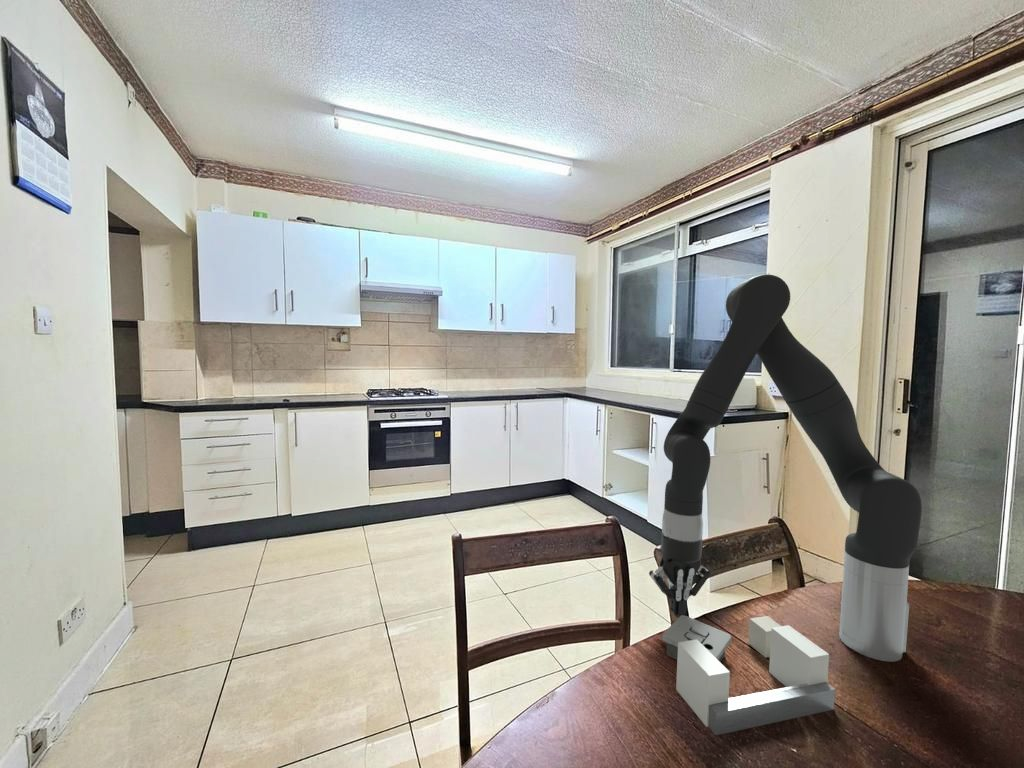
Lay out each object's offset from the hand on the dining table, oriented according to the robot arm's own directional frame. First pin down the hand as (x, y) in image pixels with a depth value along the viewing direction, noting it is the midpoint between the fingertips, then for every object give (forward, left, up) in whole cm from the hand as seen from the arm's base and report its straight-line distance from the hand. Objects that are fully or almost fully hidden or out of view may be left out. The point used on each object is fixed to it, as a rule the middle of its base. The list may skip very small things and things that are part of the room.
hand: (677, 615), depth 88 cm
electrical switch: (0, +12, -2) cm, 12 cm away
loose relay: (-12, +10, -2) cm, 16 cm away
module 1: (+9, +19, -2) cm, 21 cm away
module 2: (-9, +19, -2) cm, 21 cm away
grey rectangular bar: (0, +24, -2) cm, 24 cm away
